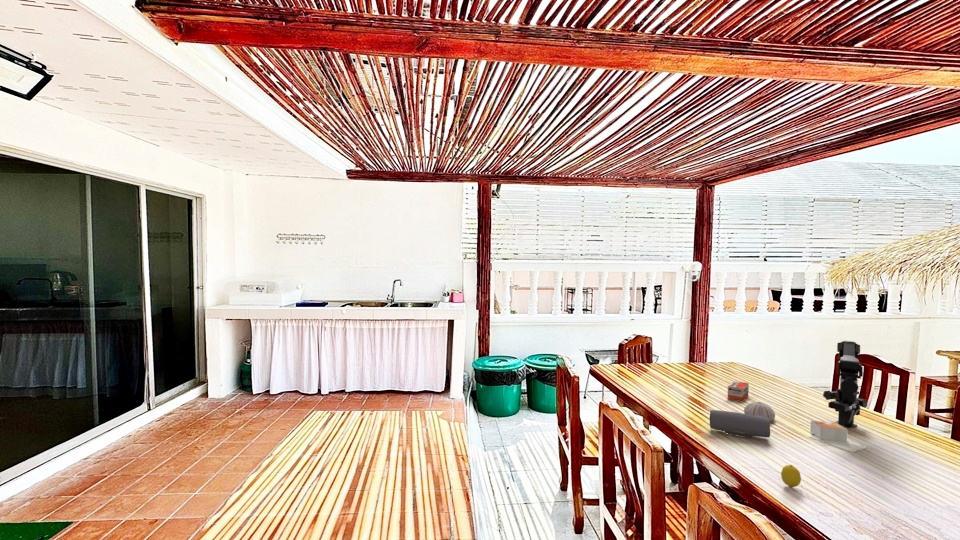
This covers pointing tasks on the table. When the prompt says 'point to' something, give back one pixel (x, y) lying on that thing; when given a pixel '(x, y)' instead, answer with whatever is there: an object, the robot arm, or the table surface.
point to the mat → (841, 444)
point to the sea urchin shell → (760, 410)
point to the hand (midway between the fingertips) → (847, 423)
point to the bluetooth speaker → (740, 424)
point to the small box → (828, 431)
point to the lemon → (791, 476)
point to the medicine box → (738, 390)
